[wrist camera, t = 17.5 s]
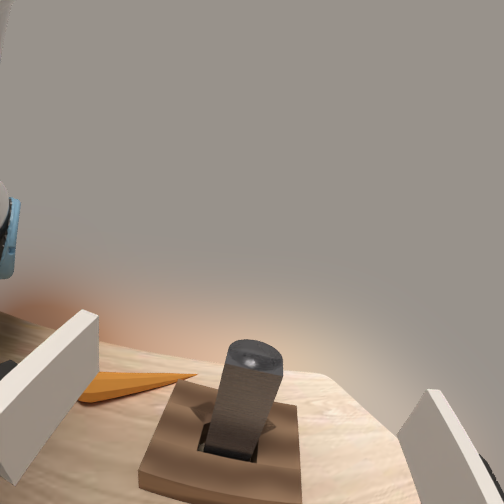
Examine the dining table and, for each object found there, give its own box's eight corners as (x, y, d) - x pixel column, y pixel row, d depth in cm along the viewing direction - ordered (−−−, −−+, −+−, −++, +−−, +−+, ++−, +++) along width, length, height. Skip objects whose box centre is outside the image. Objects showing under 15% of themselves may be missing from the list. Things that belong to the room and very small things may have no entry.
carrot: (75, 409, 32) (79, 396, 30) (68, 380, 35) (71, 364, 33) (198, 392, 46) (210, 379, 44) (187, 369, 49) (198, 354, 47)
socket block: (289, 519, 24) (302, 503, 23) (138, 487, 24) (138, 469, 23) (287, 425, 39) (296, 405, 38) (175, 399, 39) (178, 378, 38)
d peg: (242, 476, 29) (283, 376, 25) (199, 467, 29) (224, 363, 25) (246, 446, 34) (282, 346, 30) (206, 437, 34) (232, 334, 30)
